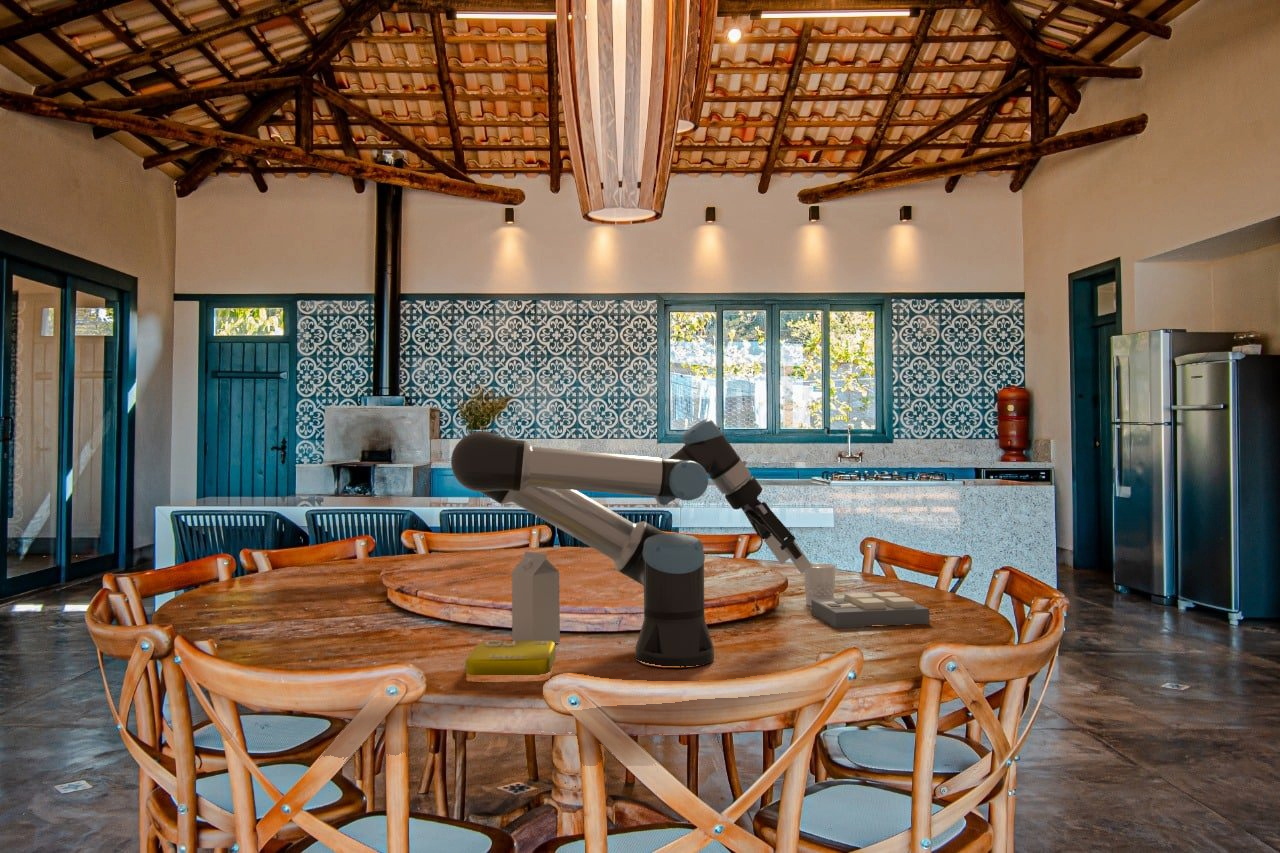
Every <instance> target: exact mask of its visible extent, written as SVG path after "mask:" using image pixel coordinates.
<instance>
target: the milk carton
mask: <svg viewBox="0 0 1280 853" xmlns="http://www.w3.org/2000/svg"><path fill="white" fill-rule="evenodd" d="M560 604H561V603H560V571H559V570H558V568H556V567H555V566H554V564H552V563H551V562H550V561H549V560H548V559H547V553H543V552H534V551H527V550H525V551H524V556H523V558H522V559H521V560H520V562H518V564H517V565H516V566H515V567H514V569H513V570H512V571H511V611H512V612H511V614H512V615H511V616H512V617H511V622H512V626H511V627H512V630H511V631H512V632H511V633H512V639H511V641H512V640H513V641H553V642H560V643H561V633H560V632H561V631H560V630H561V626H560V624H561V622H560V620H561V619H560V618H561V613H560V612H561V611H560V609H561V608H560V607H561V606H560Z"/></svg>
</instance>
